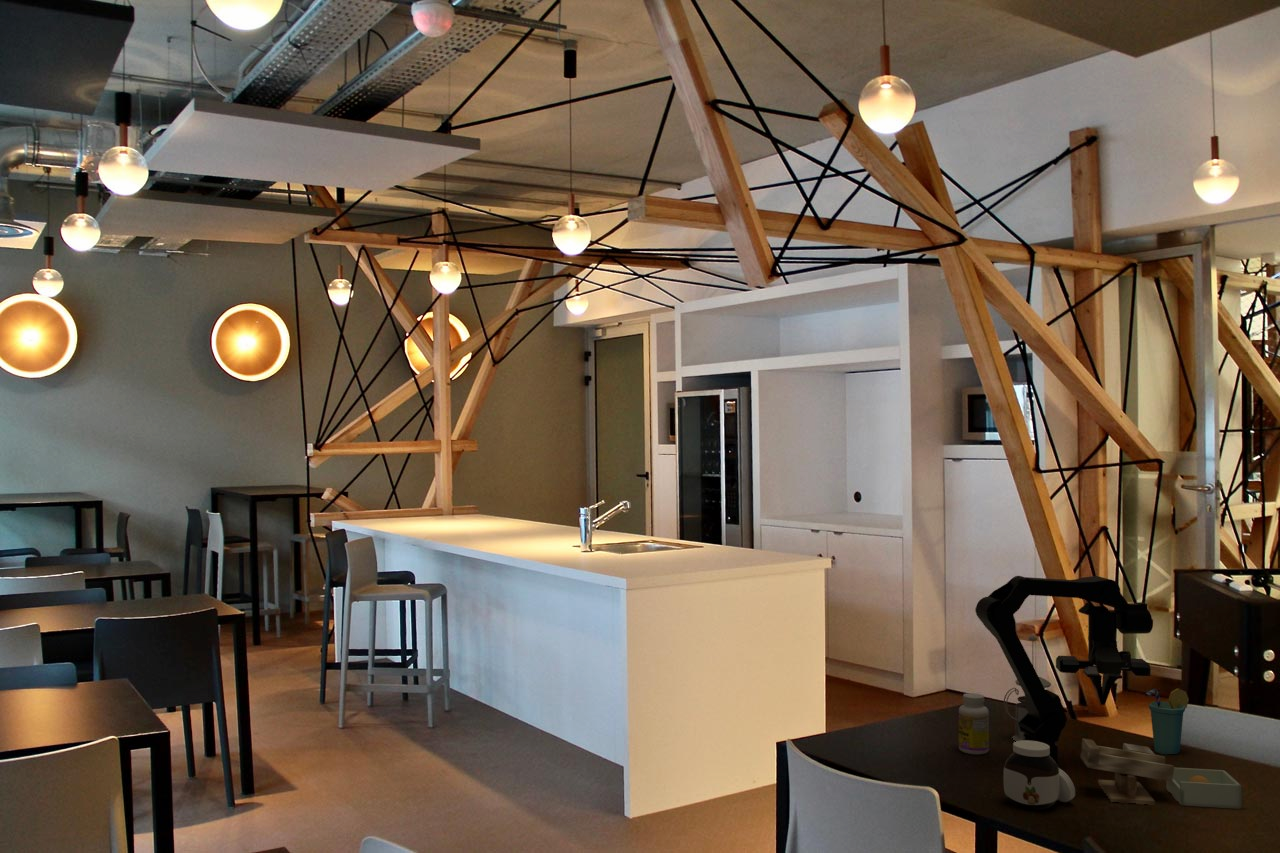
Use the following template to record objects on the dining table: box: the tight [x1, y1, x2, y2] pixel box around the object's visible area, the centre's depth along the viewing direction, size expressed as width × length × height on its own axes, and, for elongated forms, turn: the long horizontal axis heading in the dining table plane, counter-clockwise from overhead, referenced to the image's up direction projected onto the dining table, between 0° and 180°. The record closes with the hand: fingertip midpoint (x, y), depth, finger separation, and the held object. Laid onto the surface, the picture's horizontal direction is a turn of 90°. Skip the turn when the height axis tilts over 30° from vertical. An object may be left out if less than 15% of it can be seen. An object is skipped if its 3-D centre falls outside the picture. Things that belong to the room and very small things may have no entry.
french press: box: [1003, 635, 1052, 742], centre depth 259 cm, size 10×12×25 cm
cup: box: [1144, 688, 1190, 755], centre depth 250 cm, size 14×8×15 cm, turn 122°
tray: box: [1165, 767, 1243, 810], centre depth 218 cm, size 11×10×4 cm
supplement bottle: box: [958, 692, 990, 756], centre depth 250 cm, size 7×7×13 cm
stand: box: [1097, 772, 1156, 806], centre depth 220 cm, size 8×12×5 cm, turn 169°
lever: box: [1079, 738, 1175, 782], centre depth 225 cm, size 16×17×4 cm
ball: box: [1189, 776, 1209, 783], centre depth 218 cm, size 4×4×4 cm
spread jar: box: [1003, 740, 1076, 811], centre depth 215 cm, size 12×11×12 cm
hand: (1102, 704), depth 241 cm, fingers closed
